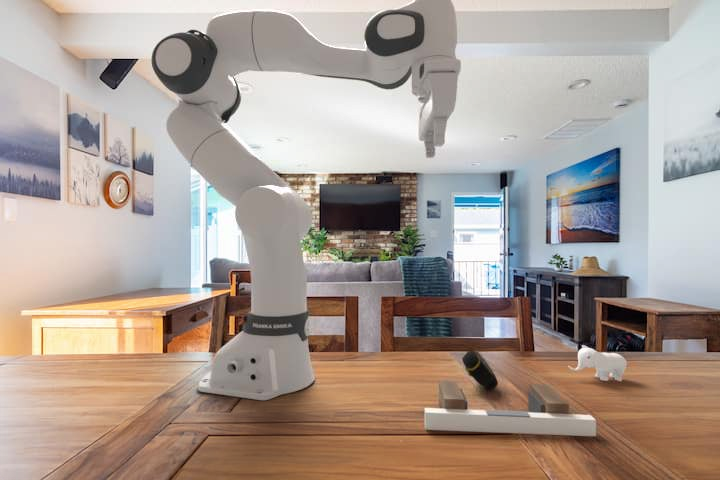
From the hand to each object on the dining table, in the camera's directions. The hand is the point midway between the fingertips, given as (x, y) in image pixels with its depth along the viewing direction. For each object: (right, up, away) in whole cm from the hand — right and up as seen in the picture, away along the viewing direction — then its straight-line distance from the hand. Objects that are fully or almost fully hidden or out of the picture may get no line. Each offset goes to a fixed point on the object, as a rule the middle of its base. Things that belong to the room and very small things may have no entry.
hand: (434, 151), depth 71 cm
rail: (+7, -46, -14) cm, 49 cm away
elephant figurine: (+34, -46, +3) cm, 58 cm away
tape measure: (+9, -46, 0) cm, 47 cm away
